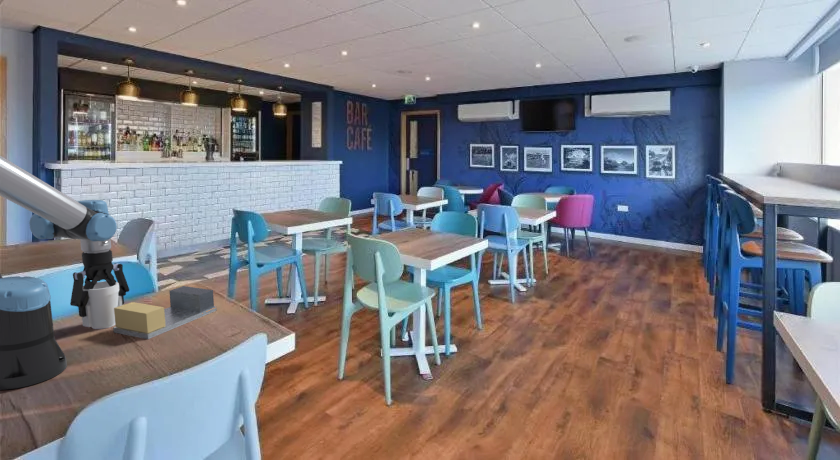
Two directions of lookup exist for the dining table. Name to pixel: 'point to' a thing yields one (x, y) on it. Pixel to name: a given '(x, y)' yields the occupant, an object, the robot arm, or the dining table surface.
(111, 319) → the foam cup
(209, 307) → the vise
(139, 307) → the block
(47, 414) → the dining table surface
